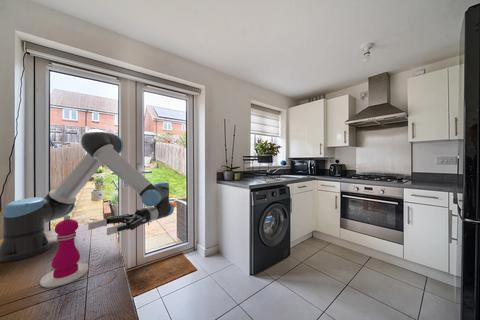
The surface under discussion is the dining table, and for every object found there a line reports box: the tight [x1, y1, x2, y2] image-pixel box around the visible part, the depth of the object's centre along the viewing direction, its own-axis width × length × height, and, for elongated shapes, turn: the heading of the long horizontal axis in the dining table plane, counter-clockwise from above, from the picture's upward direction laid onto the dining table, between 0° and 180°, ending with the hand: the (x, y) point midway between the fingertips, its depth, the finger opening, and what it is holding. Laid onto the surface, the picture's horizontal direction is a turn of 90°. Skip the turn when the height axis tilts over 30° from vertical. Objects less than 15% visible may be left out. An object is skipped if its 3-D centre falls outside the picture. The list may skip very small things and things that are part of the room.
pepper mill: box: [51, 214, 81, 278], centre depth 63 cm, size 7×7×20 cm
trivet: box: [39, 263, 89, 289], centre depth 63 cm, size 12×12×1 cm
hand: (97, 229), depth 72 cm, fingers open, 13 cm apart
